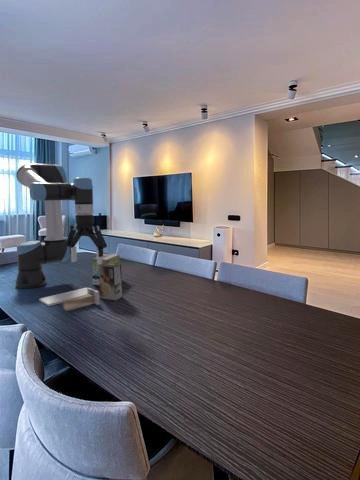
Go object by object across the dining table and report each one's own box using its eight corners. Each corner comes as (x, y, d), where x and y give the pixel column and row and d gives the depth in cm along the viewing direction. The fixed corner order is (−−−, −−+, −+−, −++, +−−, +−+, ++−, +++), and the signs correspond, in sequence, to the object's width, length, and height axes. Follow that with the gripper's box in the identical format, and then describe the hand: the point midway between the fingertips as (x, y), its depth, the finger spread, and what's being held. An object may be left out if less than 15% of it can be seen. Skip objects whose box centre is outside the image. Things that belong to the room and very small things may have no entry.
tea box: (109, 286, 163) (108, 259, 160) (92, 285, 165) (91, 258, 162) (120, 278, 177) (119, 254, 175) (104, 277, 179) (103, 253, 177)
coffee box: (122, 296, 146) (122, 264, 144) (115, 300, 140) (114, 267, 138) (107, 294, 150) (106, 262, 147) (98, 298, 144) (97, 265, 141)
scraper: (60, 308, 132) (59, 294, 131) (90, 300, 142) (89, 287, 141) (69, 313, 126) (68, 299, 125) (99, 304, 136) (98, 291, 135)
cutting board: (39, 300, 140) (39, 298, 140) (86, 289, 157) (86, 287, 157) (48, 306, 133) (48, 304, 133) (96, 293, 150) (96, 291, 150)
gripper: (55, 214, 131) (58, 262, 134) (103, 215, 122) (105, 266, 125) (67, 213, 138) (70, 259, 141) (114, 214, 129) (115, 263, 132)
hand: (86, 262), depth 133 cm, fingers open, 13 cm apart
